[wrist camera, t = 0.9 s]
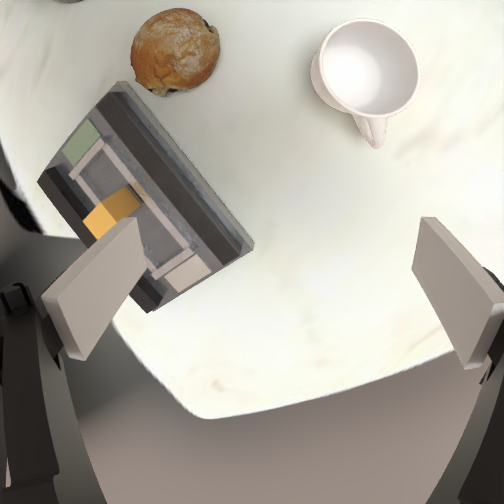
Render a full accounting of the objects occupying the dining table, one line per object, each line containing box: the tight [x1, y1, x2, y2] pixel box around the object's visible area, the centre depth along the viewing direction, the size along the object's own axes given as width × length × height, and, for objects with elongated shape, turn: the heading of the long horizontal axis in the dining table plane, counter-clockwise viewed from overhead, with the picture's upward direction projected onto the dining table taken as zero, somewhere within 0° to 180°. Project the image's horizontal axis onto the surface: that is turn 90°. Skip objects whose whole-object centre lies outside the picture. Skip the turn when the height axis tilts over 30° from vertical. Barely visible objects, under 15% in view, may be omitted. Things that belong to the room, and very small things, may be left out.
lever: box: [83, 183, 144, 240], centre depth 34 cm, size 3×4×7 cm
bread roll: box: [130, 8, 220, 96], centre depth 29 cm, size 10×10×8 cm
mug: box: [310, 18, 421, 149], centre depth 26 cm, size 9×12×11 cm
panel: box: [37, 81, 254, 313], centre depth 38 cm, size 26×18×4 cm
